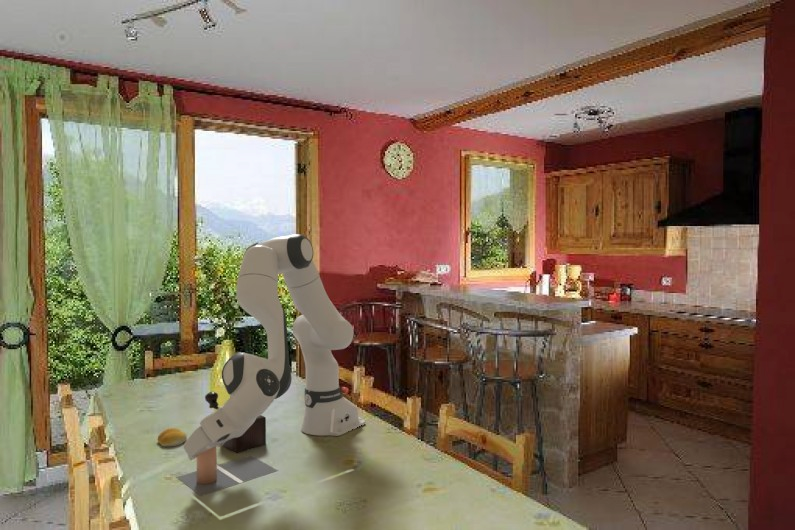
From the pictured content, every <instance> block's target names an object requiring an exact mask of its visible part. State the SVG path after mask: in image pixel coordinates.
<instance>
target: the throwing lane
mask: <svg viewBox="0 0 795 530" xmlns="http://www.w3.org/2000/svg"><path fill="white" fill-rule="evenodd" d="M276 472H279V471H278V469H276V468H274V467H273V466H271V465H269V464H267V463H266V462H264V461H262V460H260V459H258V458H256V457H255V456H254V455H251V454H250V455H247V456H246V455H245V456H243V457H239V458H236V459H232V460H230V461H227V462H223V463H219V464H217V480H216V481H215V482H213V483H209V484H199V483H197V470H196V471H193V472H189V473H185V474H182V475H179V476H176V477H175V478H176V479H178V480H179V481H180V482H182V484H184V485H186V486H187V487H188V488H189V489H191V490H192V491H193V492H195V494H197V495H198V496H200V497H202V496H203V497H204V496H206V495H209V494H211V493H215V492H217V491H220V490H223V489H227V488H230V487H233V486H235V485H239V484H242V483H246V482H248V481H251V480H254V479H255V480H256V479H257V478H260V477H263V476H266V475H270V474H273V473H276Z"/></svg>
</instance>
